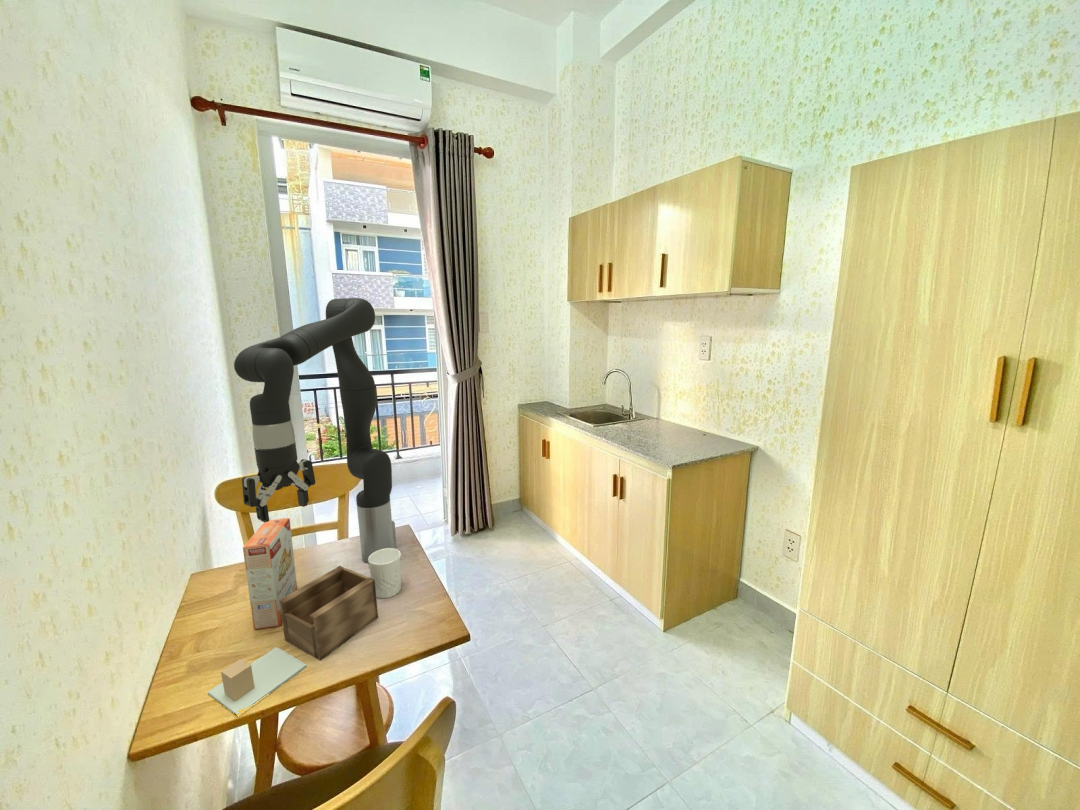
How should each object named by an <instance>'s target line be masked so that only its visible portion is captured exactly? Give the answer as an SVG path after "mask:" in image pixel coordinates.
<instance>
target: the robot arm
mask: <svg viewBox="0 0 1080 810" xmlns="http://www.w3.org/2000/svg"><path fill="white" fill-rule="evenodd" d="M375 322H376V313H375V309H374V306H373V305H372V304H371V302H370V301H369V300H366V299H364V298H360V297H346V298H344V297H343V298H333V299H331V300H329V301H328V302H327V305H326V306H325V319H322V320H318V321H314V322H310V323H307V324H306V323H305V324H304V325H301V326H299V327H296V328H294V329H293V330H290V331H288V332H286V333H285V334H283V335H281V336H279V337H276V338H273V339H269V340H265V341H262V342H260V343H256V344H252V345H250V346H248V347H246V348H244V349H242V350H241V351H240V352H239V353H238V354H237V356H236V357H235V359H234V362H233V369H234V371H235V373H236V375H237V376H238V377H239V378H241V379H242V380H243V381H247V382H250V383H264V384H263V385H264V386H263V391H262V393H258V394H256V395H253V396H252V397H251V398H250V400H249V411H250V416H251V423H252V440H253V447H254V454H255V462H256V468H257V469H258V470H257V471H258V472H257V475H253V476H250V477H248V476H244V477H242V478H241V486H242V498H243V504H244V505H245V506H248V507H251V508H255V510H256V511H255V512H256V518H257V519H258V520H259V521H260V522H263V523H264V522H265V523H266V522H268V521H269V520H270V516H269V508H268V505H267V502H268V501H269V500H270V498H271V496H273V494H274V493H275V491H279V490H281V489H283V488H287V487H291V485H293V486H294V487H295V488H297V490H296V493H297V494H296V495H297V500H298V501H297V502H298V503H297V504H298V506H300V507H306V506H308V503H309V500H310V499H309V492H308V489H309V488H310V487H311V486H314V485H316V478H315V472H314V466H313V462H312V460H309V459H304V458H302V459H301V460H300V461H299V462H298V450H297V445H296V435H295V429H294V425H293V423H292V415H291V409H290V396H291V391H292V385H293V379H294V372H295V371H294V370H295V369H294V366H298V365H302V364H304V363H305V362H307V361H308V360H309V359H311V358H313V357H314V356H317V355H318V354H319V353H321V352H323V351H324V350H326V349H329V348H330V347H332V350H333V355H334V359H335V365H336V371H337V372H336V373H337V378H338V387H339V395H340V403H341V407H342V414H343V421H344V427H345V429H344V430H345V437H346V441H345V442H346V465H347V469H348V472H349V473H350V475H351V476H353V477H355V478H357V479H360V480H362V484H363V489H362V490H360V491H359V492H358V493H357V494H356V496H355V502H356V510H357V520H358V521H357V523H358V531H359V543H360V552H361V560H362V561H363V562H364V563H368V564H369V561H368V558H369V556H370V555H371V554H372V553H374V552H375V551H378V550H381V549H385V548H394V549H398V548H397V545H398V544H397V535H396V534H397V533H396V522H395V521H394V520H393V518H392V508H391V507H392V506H391V494H392V493H391V492H392V489H393V476H392V473H393V470H392V462H391V457H390V456H389V454H388V453H387V452H385V451H383V450H379V449H376V448H373V444H372V438H371V425H372V422H373V419H374V416H375V412H376V409H377V403H378V400H377V399H378V398H377V389H376V383H375V379H374V377H373V375H372V373H371V371H370V370H369V369H368V367H367V366H366V364H365V363H364V362H363V361H362V358H360V356H359V354H358V353H357V351H356V348H355V345H354V340H353V337H355V336H358V335H360V334H364V333H366V332H368V331H370V330H371V329H372V328H373V327H374V325H375ZM299 471H301V473H302V478H303V480H302V479H301V478H300V477H299V476H298V473H299ZM258 482H259V483H261V484H260V486H259V487H258V489H257V491H256V487H257V486H258Z"/></svg>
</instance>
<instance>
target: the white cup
mask: <svg viewBox="0 0 1080 810" xmlns="http://www.w3.org/2000/svg"><path fill="white" fill-rule="evenodd" d="M401 555H402V553H401V551H400V550H399V549H398V548H397V549H394V548H385V549H381V550H378V551H375V552H374V553H372V554H371V555H370V556H369V558H368V561H369V563H368V567H369V573H370V574H369V575H370V578H372V579H374V580H375V589H376V598H378V599H389V598H391V597H394V596H395V595H397V594H399V592H400V591H401V589H402V556H401Z"/></svg>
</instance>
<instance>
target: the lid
mask: <svg viewBox="0 0 1080 810" xmlns="http://www.w3.org/2000/svg"><path fill="white" fill-rule="evenodd" d="M307 667H308V665H307V664H306V663H304V662H303V661H302V660H300V659H298V658H296V657H295V656H292V655H291V654H289V653H287V652H286V651H285V650H283V649H281V648H279V647H277V646H276V647H274V648H272V650H270V651H268V652H267V653H265V654H263V655H262V656H261V657H259V658H257V659H255V661H252V662H251V663H248V662H247V661H245V660H244V659H242V658H240V659H237V660H236V661H235V662H233V663H231V665H228V666H226V667H225V668H223V669H222V670H221V671H220V675H221V679H222V682H220V683H219V684H217V685H216V686H214V687H213V688H211V689H210V690H208V691H207V694H208V696H210V697H211V698H212V699H214V698H215V699H216V700H218V701H219V702H220V703H221V704H223V705H224V706H225V707H226V709H227V710H228V709H229V710H230V711H232V712H234V713H236V714H237V715H238V713H239V712H238V711H239V710H240V709H243V708H244V709H245V708H247V707H250V706H251V705H253V704H255V703H256V702H257V701H259V700H260V699H261V698H263V697H264V696H266V695H267V694H269V693H271V692H272V691H274V690H275V689H276V690H277V688H278V689H279V688H280V687H282V686H283V685H284V684H286V683H287V682H288V681H290V680H291V679H293V677H295V676H297V675H298V674H299V673H301V672H302V671H303V670H305V669H306V668H307ZM285 682H286V683H285ZM282 684H283V685H282ZM281 685H282V686H281ZM276 690H275V691H276ZM275 691H274V692H275ZM272 693H273V692H272ZM272 693H271V694H272ZM269 695H270V694H269ZM215 699H214V700H215ZM216 700H215V701H216ZM218 701H217V702H218ZM219 702H218V703H219ZM220 703H219V704H220ZM221 704H220V705H221ZM223 705H222V706H223ZM224 706H223V707H224ZM246 706H247V707H246ZM225 707H224V708H225ZM229 710H228V711H229ZM230 711H229V712H230ZM232 712H231V713H232Z"/></svg>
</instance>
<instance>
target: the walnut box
mask: <svg viewBox="0 0 1080 810" xmlns="http://www.w3.org/2000/svg"><path fill="white" fill-rule="evenodd" d="M377 600H378V599H377V597H376V589H375V580H374V579H372V578H371V577H369V576H367V575H364V574H362V573H359V572H356V571H354V570H352V569H349V568H346V567H344V566H342V565H339V566H337V567H335V568H333V569H332V570H330V571H328V572H326V573H324V574H323V575H321V576H319V577H317V578H316V579H314V580H312V581H310V582H309V583H307V584H304V585H303V586H301V587H299V588H297V590H296V591H294V592H292V593H291V594H289V595H287V596H285V597H284V598H282V599H280V600H279V602H280V610H281V617H282V623H281V625H282V631H283V635H284V636H283V637H284V641H285V642H287V643H289V644H291V646H295V647H297V649H299V650H301V651H303V652H305V653H306V654H308V655H310V656H312V657H313V658H316V659H317V660H318V661H322V660H324V658H326V657H327V656H328V655H330V654H331V653H332V652H334V651H335V650H336V649H338V648H340V646H342V645H344V644H345V643H346V642H347V641H349V640H351V638H353V637H354V636H356V635H357V634H358V633H360V632H361V631H363V629H365V628H367V627H368V626H369V625H370V624H371V623H373V622H374V621H376V620H377V619H378V618H379V612H378V611H379V610H378V601H377Z"/></svg>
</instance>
